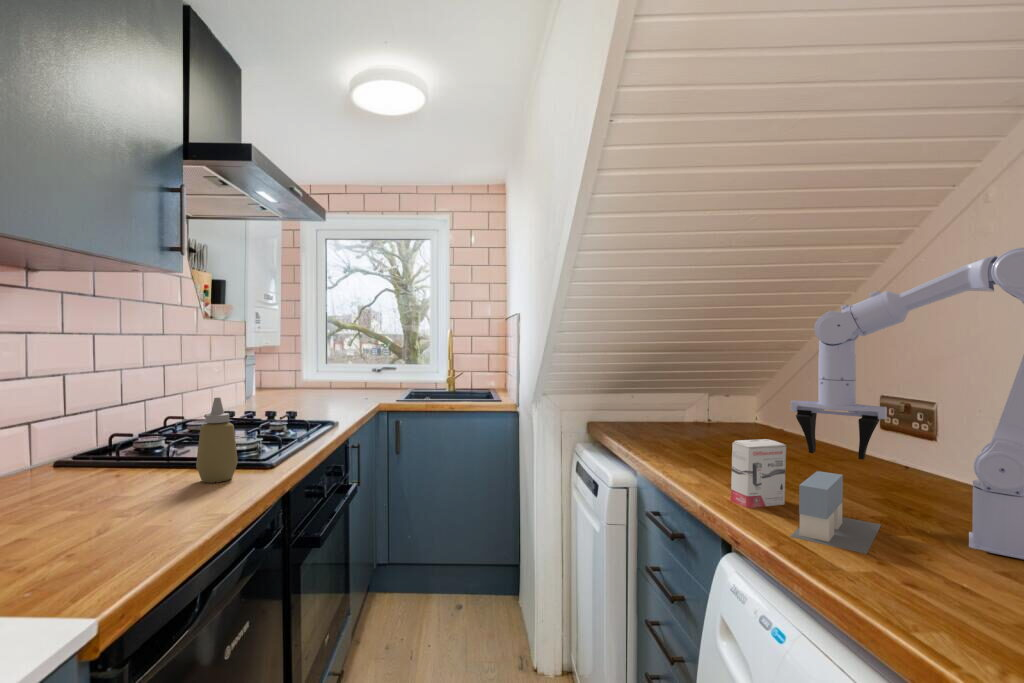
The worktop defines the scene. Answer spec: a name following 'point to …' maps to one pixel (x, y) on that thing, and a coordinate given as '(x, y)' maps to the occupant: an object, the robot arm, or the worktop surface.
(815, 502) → the lintel
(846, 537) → the mat
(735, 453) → the ink box
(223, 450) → the squeeze bottle
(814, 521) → the post
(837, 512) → the post
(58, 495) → the worktop surface
